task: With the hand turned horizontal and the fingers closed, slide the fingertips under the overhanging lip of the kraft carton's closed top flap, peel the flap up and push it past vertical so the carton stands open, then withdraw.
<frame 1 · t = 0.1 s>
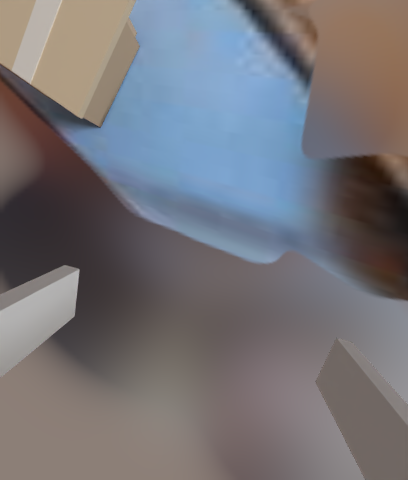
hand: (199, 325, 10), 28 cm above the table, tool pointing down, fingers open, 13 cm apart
carton: (93, 70, 33), on the table
flap: (46, 18, 22), point 12 cm above the table, hinge at 0.0°
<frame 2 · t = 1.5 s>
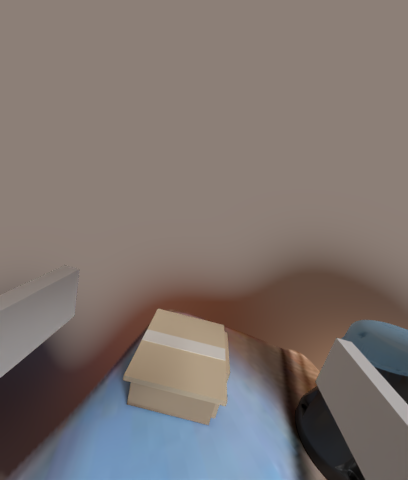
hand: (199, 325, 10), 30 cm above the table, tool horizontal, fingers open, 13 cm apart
carton: (174, 386, 38), on the table
flap: (184, 346, 33), point 12 cm above the table, hinge at 0.0°
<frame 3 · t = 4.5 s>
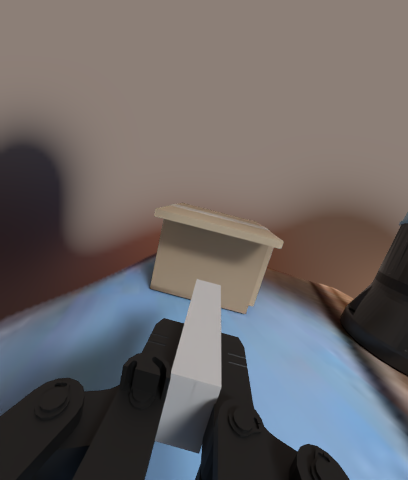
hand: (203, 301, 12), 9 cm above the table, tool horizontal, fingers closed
carton: (200, 285, 33), on the table
flap: (218, 219, 28), point 12 cm above the table, hinge at 0.0°
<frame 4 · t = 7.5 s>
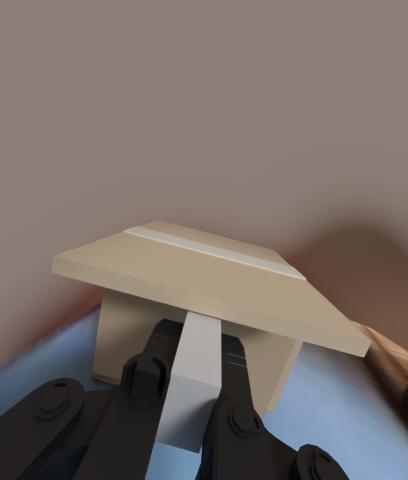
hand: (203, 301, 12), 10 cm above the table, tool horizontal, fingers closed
carton: (185, 353, 21), on the table
flap: (213, 255, 16), point 12 cm above the table, hinge at 1.2°, touching gripper
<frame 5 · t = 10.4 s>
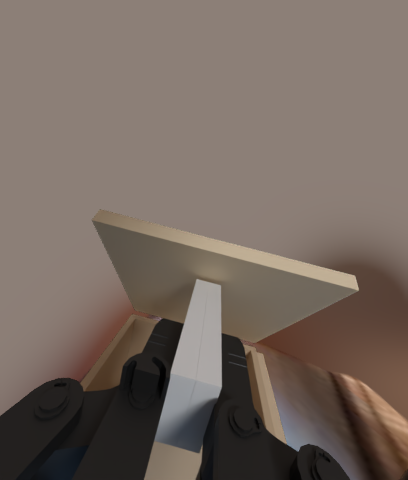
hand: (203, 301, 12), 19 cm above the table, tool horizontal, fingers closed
carton: (160, 458, 20), on the table
flap: (204, 298, 16), point 17 cm above the table, hinge at 50.3°, touching gripper
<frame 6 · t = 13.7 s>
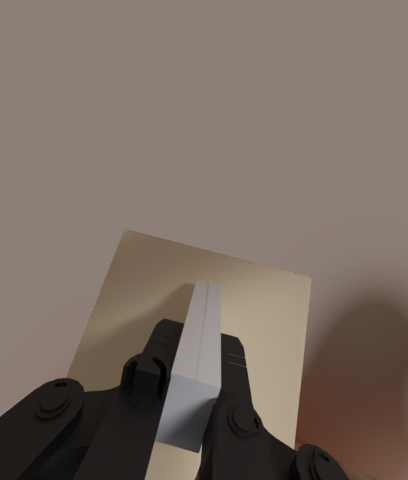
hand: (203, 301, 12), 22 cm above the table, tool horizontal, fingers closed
flap: (188, 368, 12), point 18 cm above the table, hinge at 119.4°, touching gripper
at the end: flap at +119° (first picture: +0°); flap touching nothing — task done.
